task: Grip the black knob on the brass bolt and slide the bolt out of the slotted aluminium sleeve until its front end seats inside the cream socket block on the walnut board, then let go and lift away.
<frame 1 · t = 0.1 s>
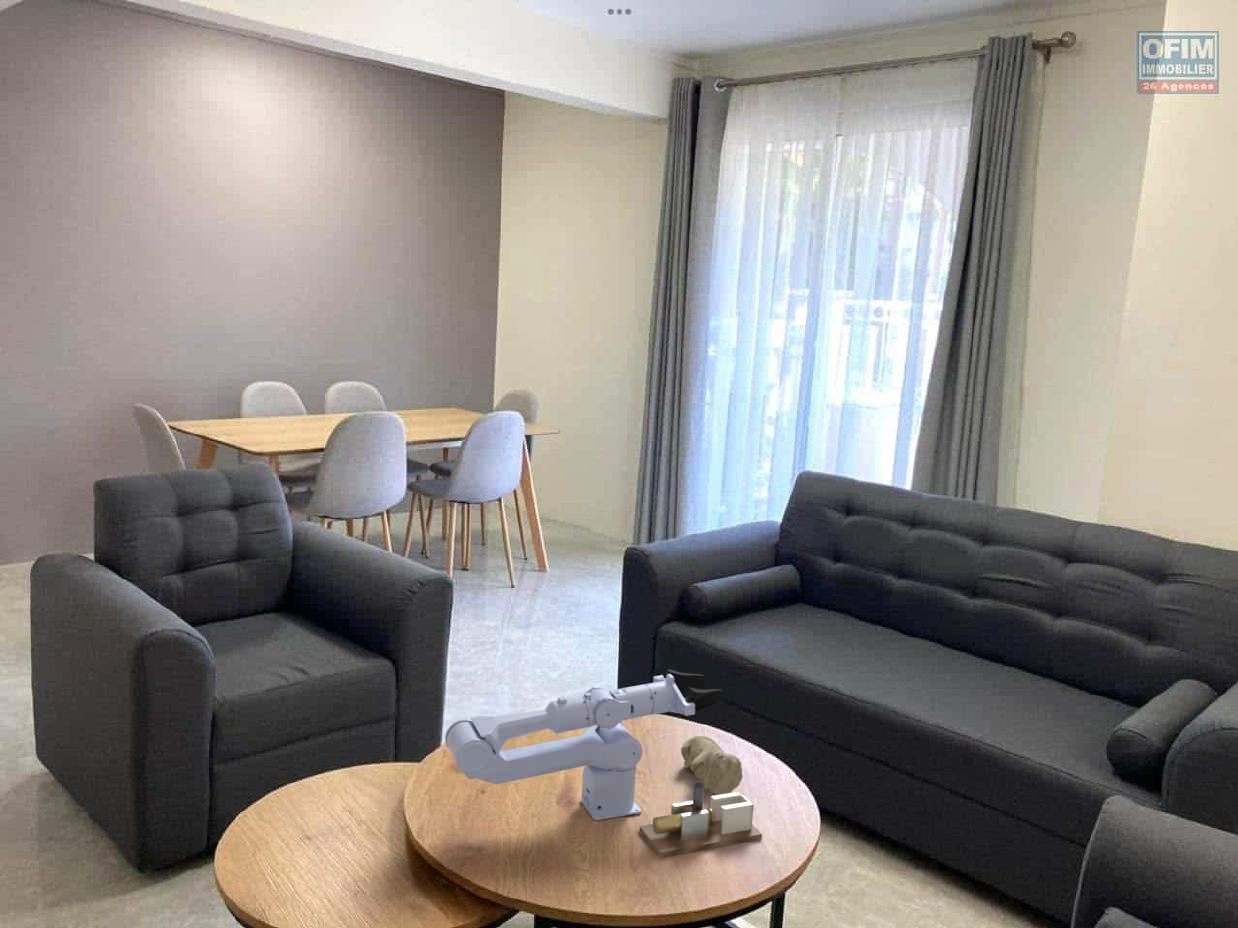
hand: (712, 687, 190), 22 cm above the table, fingers open, 7 cm apart
sculpture: (708, 782, 199), on the table
socket block: (729, 829, 180), resting on guide board
guide board: (700, 835, 178), on the table
brass bolt: (685, 805, 176), point 6 cm above the table, slide at 0.0 cm
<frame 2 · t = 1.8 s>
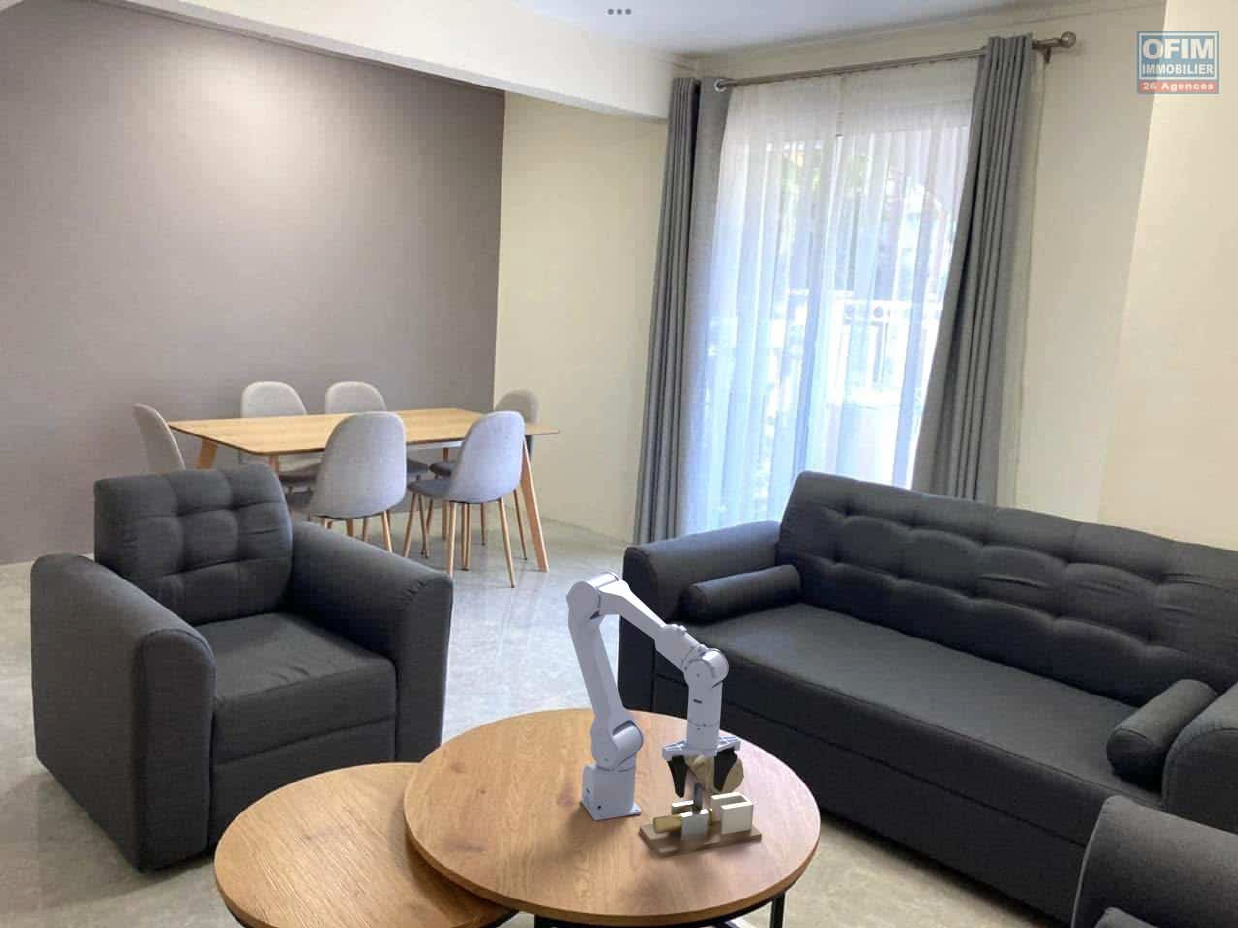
hand: (698, 791, 176), 8 cm above the table, fingers open, 7 cm apart
nothing on the table moved.
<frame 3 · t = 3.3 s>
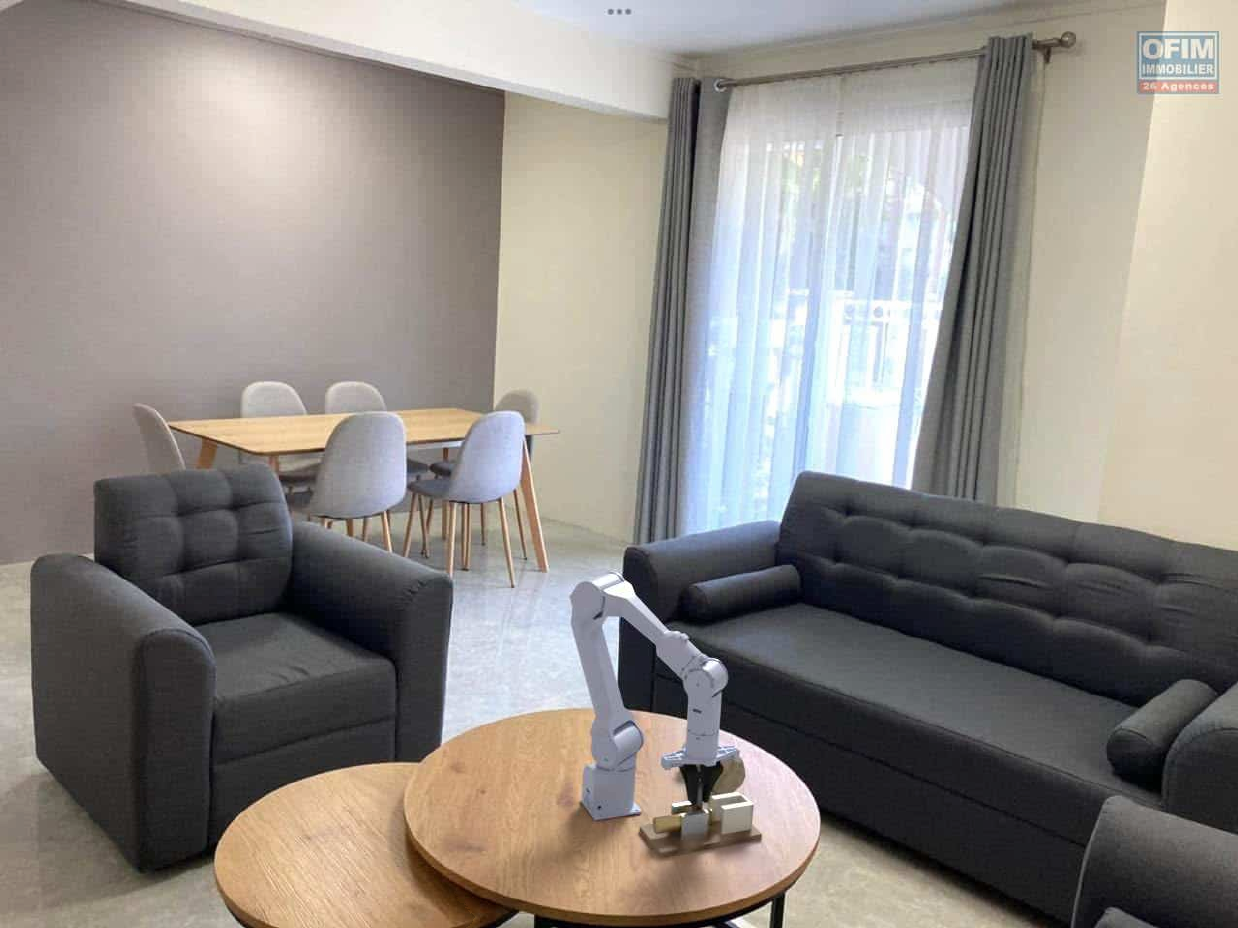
hand: (697, 801, 177), 7 cm above the table, fingers closed on brass bolt, 2 cm apart
brass bolt: (685, 805, 176), point 6 cm above the table, slide at 0.0 cm, touching gripper
everything else where it was.
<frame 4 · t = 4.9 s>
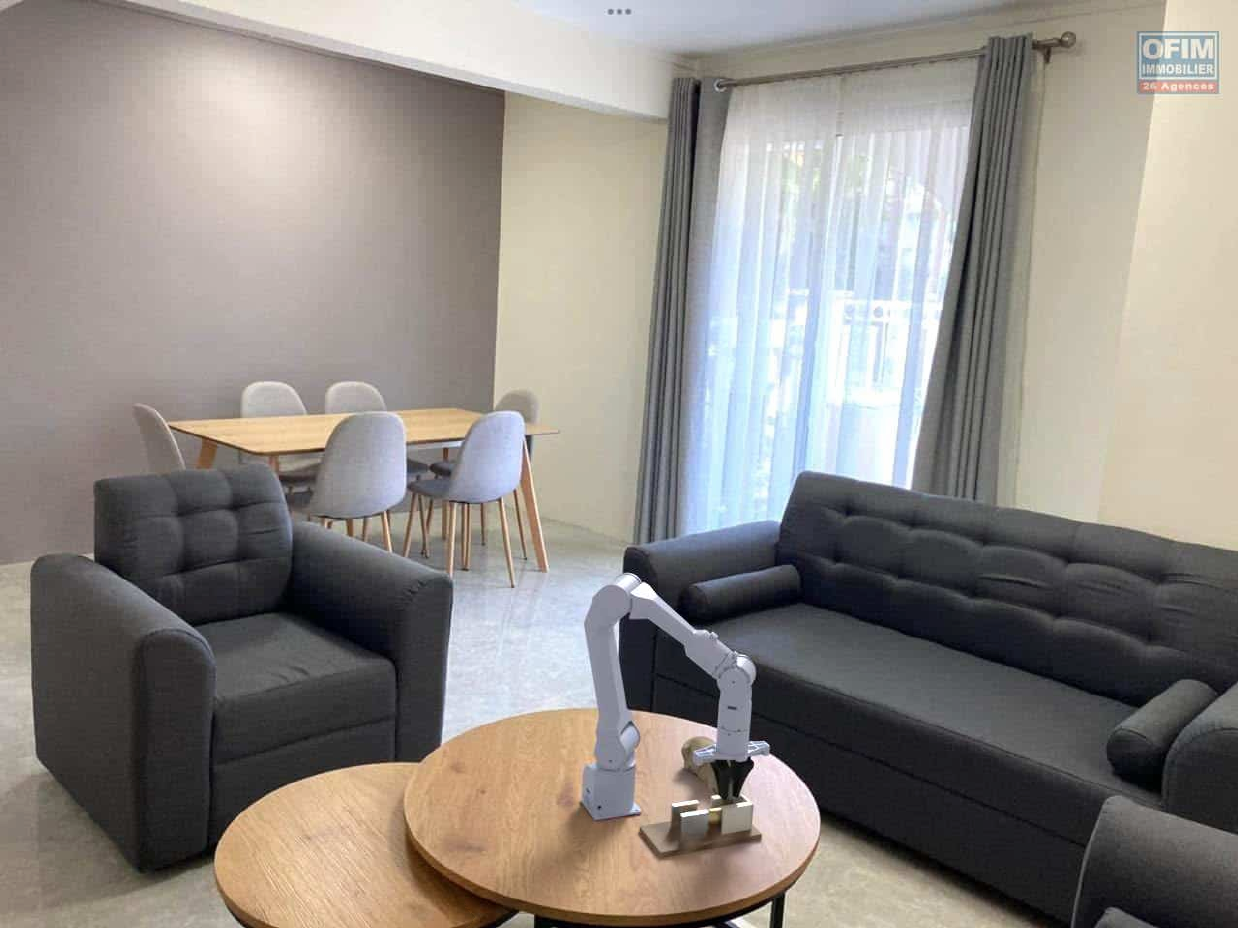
hand: (728, 796, 179), 7 cm above the table, fingers closed on brass bolt, 2 cm apart
brass bolt: (715, 800, 178), point 6 cm above the table, slide at 6.2 cm, touching gripper
everything else where it was.
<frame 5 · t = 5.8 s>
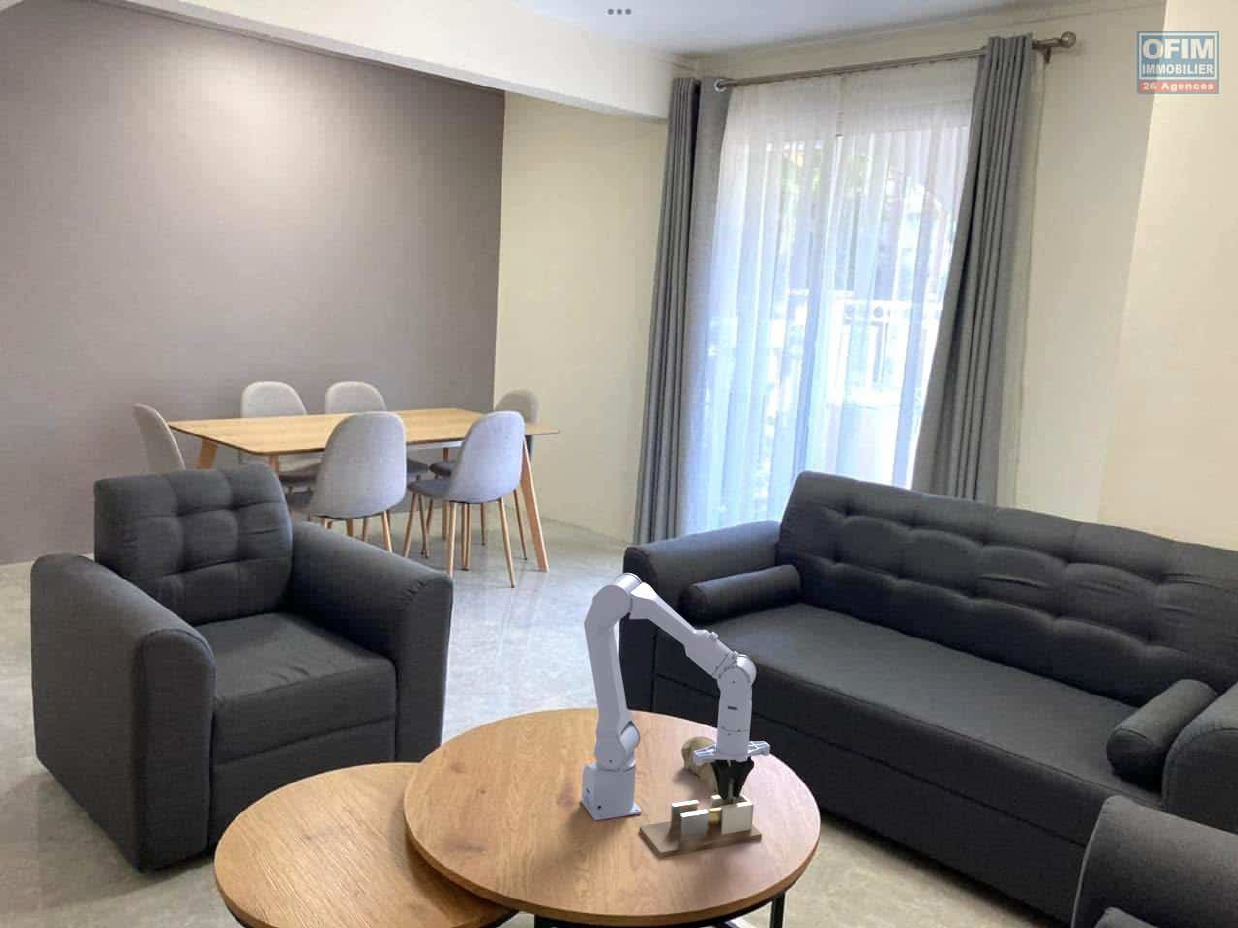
hand: (728, 796, 179), 7 cm above the table, fingers closed on brass bolt, 2 cm apart
brass bolt: (716, 800, 178), point 6 cm above the table, slide at 6.2 cm, touching gripper
everything else where it was.
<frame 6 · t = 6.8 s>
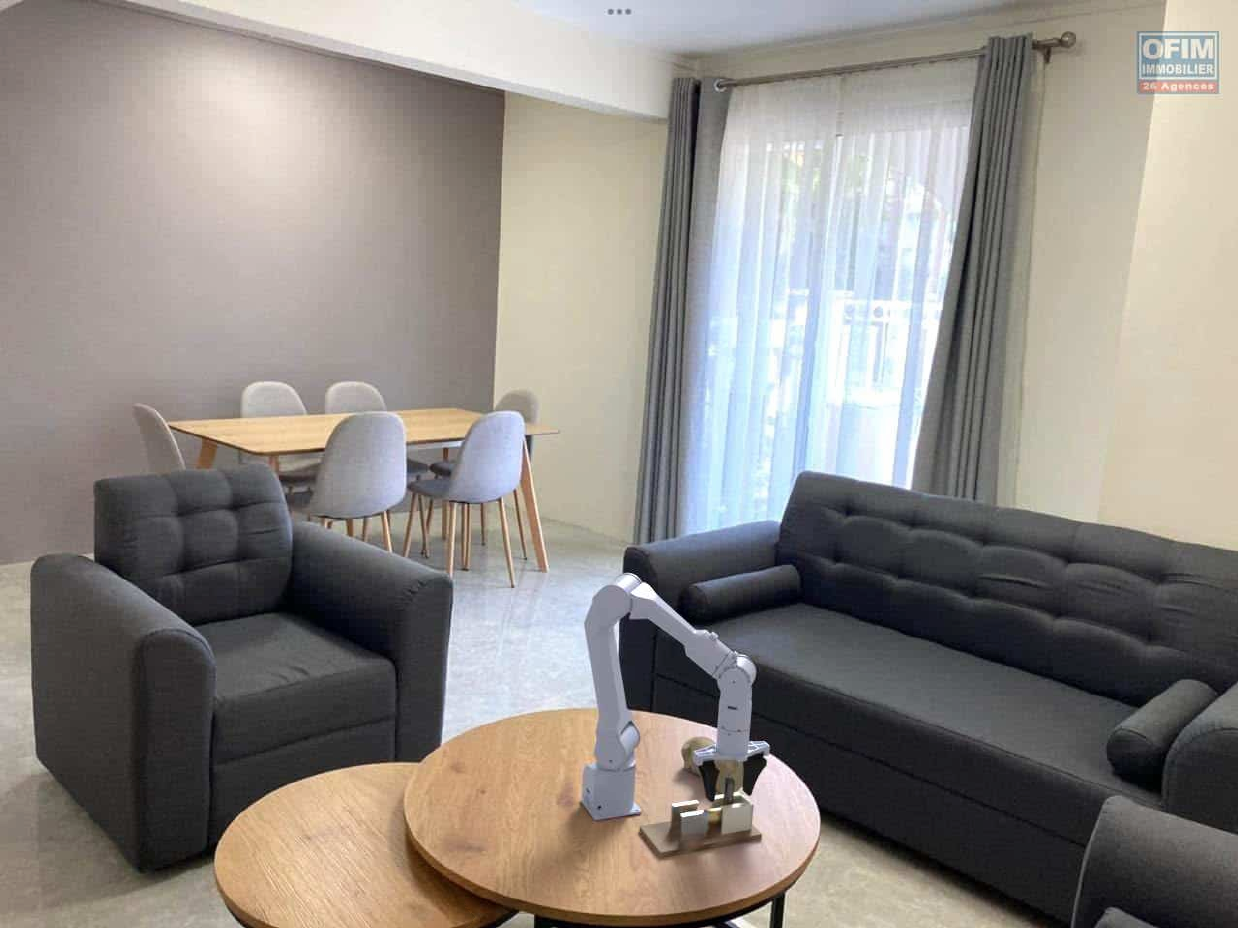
hand: (728, 796, 179), 7 cm above the table, fingers open, 7 cm apart
brass bolt: (716, 800, 178), point 6 cm above the table, slide at 6.2 cm
everything else where it was.
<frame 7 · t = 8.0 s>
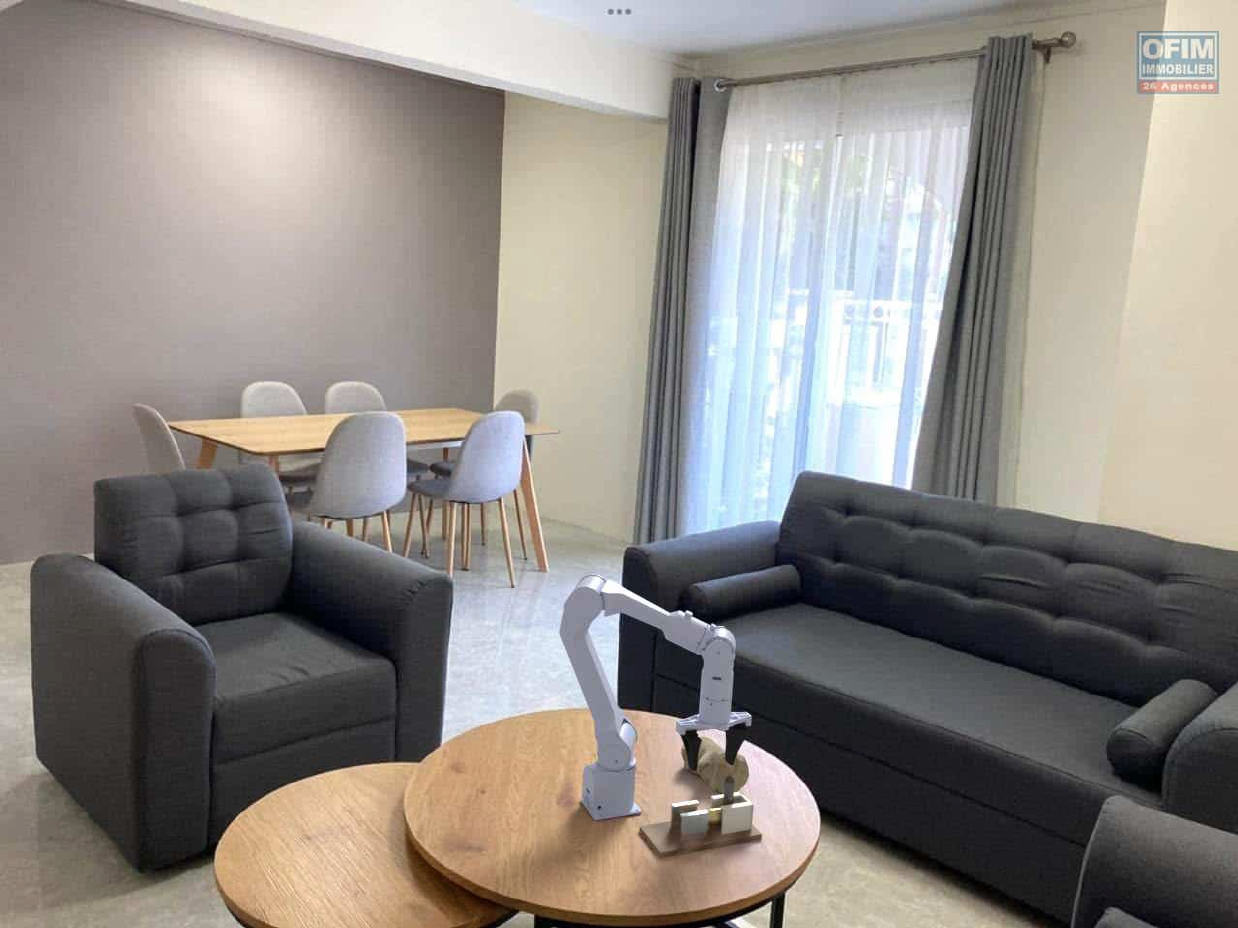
hand: (711, 765, 183), 10 cm above the table, fingers open, 7 cm apart
nothing on the table moved.
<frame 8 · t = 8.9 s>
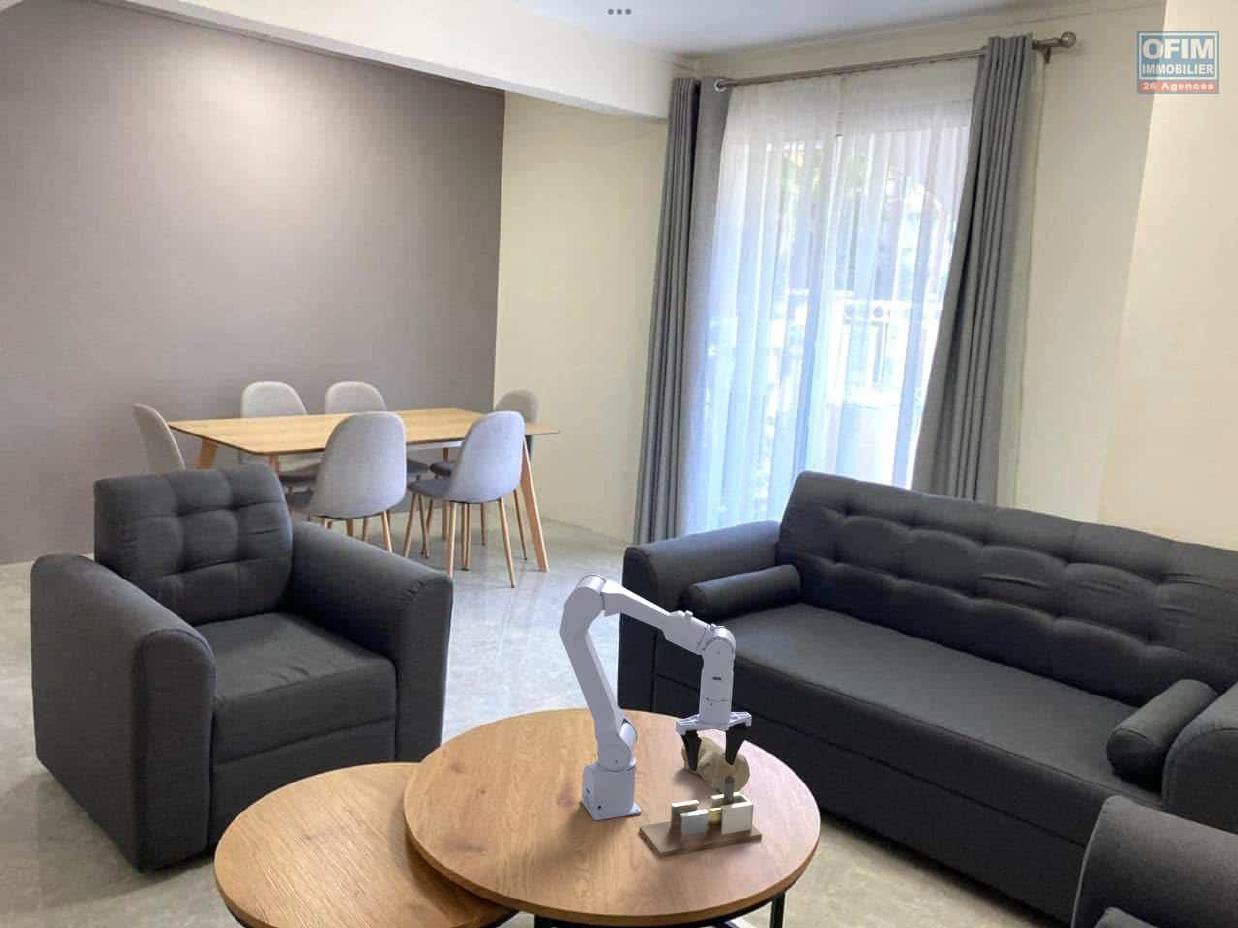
hand: (711, 765, 183), 10 cm above the table, fingers open, 7 cm apart
nothing on the table moved.
at the end: brass bolt slide at 6.2 cm; the gripper is holding nothing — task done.
